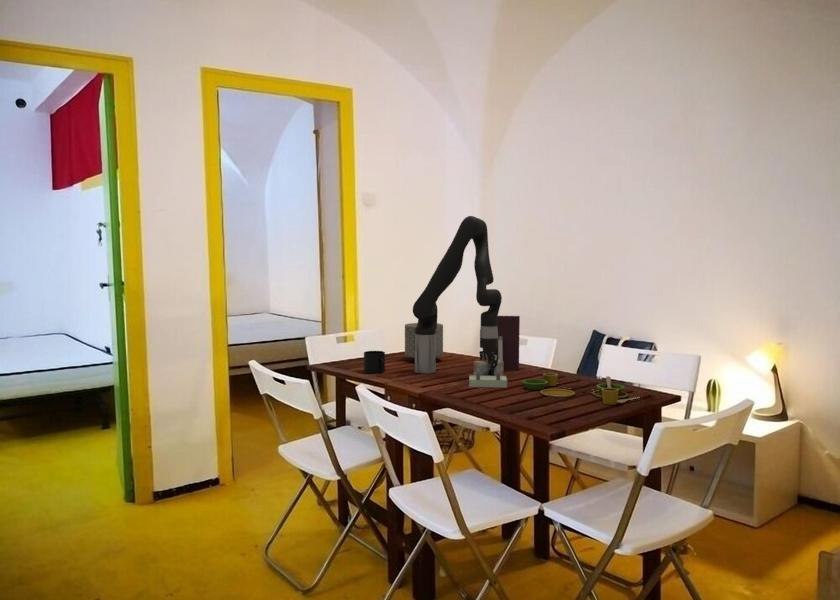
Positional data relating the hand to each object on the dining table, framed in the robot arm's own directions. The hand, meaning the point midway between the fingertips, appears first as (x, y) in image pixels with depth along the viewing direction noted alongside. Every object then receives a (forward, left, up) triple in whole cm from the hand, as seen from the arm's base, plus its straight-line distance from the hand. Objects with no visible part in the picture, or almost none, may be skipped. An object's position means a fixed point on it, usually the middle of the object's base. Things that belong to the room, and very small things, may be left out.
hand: (488, 376), depth 269 cm
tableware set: (+33, -23, -2) cm, 41 cm away
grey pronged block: (-1, -11, -1) cm, 11 cm away
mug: (-50, +13, -2) cm, 52 cm away
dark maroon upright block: (+6, +20, -2) cm, 21 cm away
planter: (-31, +46, -2) cm, 56 cm away
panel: (0, 0, -1) cm, 1 cm away
